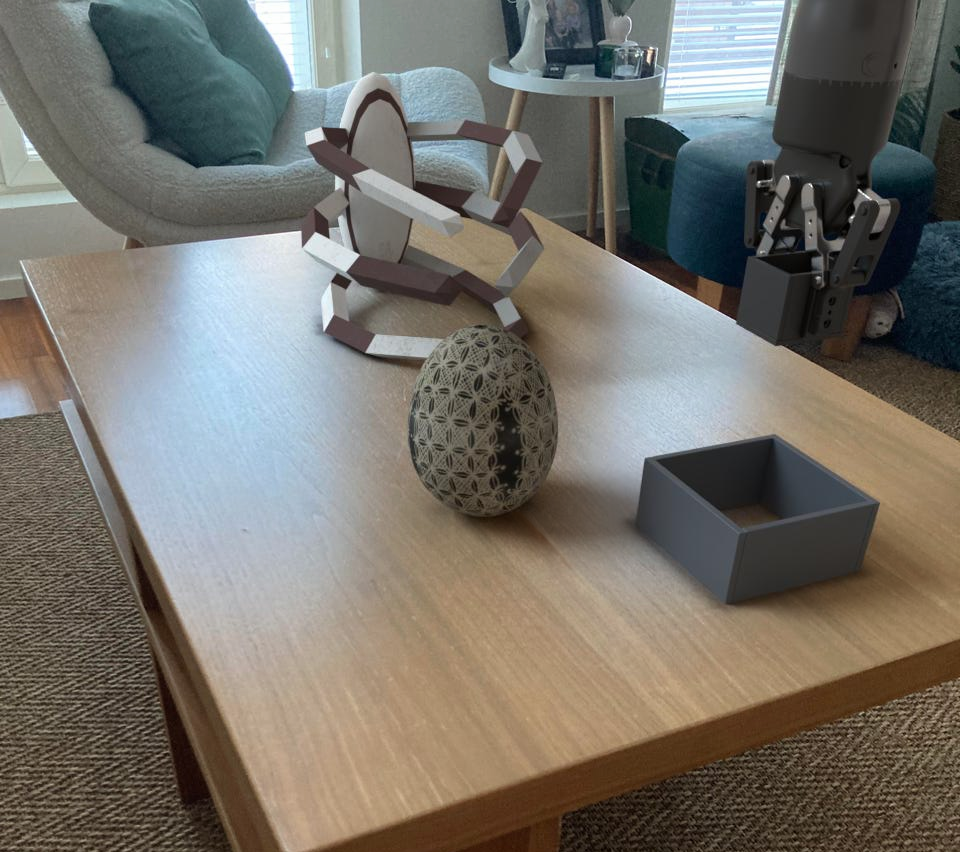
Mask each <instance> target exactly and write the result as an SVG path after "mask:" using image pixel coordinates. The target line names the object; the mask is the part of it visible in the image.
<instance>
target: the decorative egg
mask: <svg viewBox="0 0 960 852" xmlns="http://www.w3.org/2000/svg"><path fill="white" fill-rule="evenodd" d="M503 328H504V327H500V326H497V325H493V324H487V323H483V324H482V323H480V324H479V323H478V324H472V325H468V326H464V327H462V328H460V329H457V330H455V331H454V332H452V333H450V334H449V335H448V336H446V337H445V338H443V339H444V340H443V341H442V342H440V343H439V344H438V345H437V346H436V347H435V349H434V350H433V351H432V352H431V354H430V355H429V356H428V358H427V359H426V361H423V364H422V366H421V368H420V370H419V372H418V375H417V376H416V379H415V382H414V384H413V387H412V389H411V395H410V398H409V404H408V410H407V422H406V430H407V432H406V433H407V444H408V445H407V446H408V449H409V455H410V459H411V462H412V466H413V468H414V470H415V472H416V474H417V477H418V478H419V480H420V482H421V483H422V485H423V486H424V487H425V488H426V490H427V491H428V492H429V494H431V495H432V497H433V498H435V499H436V500H437V501H439V502H440V503H441V504H442V505H444V506H445V507H447V508H449V509H451V510H453V511H454V512H457V513H460V514H462V515H466V516H470V517H475V518H477V517H478V518H490V517H496V516H499V515H504V514H506V513H509V512H512V511H514V510H516V509H517V508H520V507H521V506H522V505H524V504H525V503H526V502H528V501H529V500H530V499H532V497H534V495H535V494H536V493H537V492H538V491H539V490H540V488H541V487H542V486H543V484H544V483H545V481H546V480H547V477H548V476H549V474H550V472H551V469H552V466H553V463H554V460H555V457H556V453H557V448H558V442H559V415H558V407H557V401H556V396H555V392H554V388H553V385H552V383H551V380H550V376H549V374H548V372H547V370H546V368H545V366H544V364H543V363H542V361H541V360H540V358H539V357H538V355H537V354H536V353H535V352H534V350H533V349H532V348H531V347H530V346H529V345H528V344H527V343H526V342H525V341H524V340H522V338H521V339H520V338H519V337H517V336H516V335H515V334H513V333H511V332H510V331H508V330H505V329H503Z"/></svg>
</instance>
